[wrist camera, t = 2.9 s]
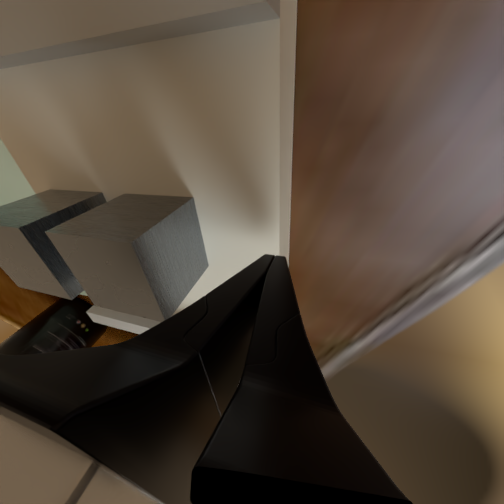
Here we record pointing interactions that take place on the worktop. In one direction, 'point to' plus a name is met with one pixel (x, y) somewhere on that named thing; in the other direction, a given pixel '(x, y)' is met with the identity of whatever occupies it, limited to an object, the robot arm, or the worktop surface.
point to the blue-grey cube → (135, 253)
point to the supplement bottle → (56, 330)
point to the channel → (159, 114)
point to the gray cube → (41, 240)
